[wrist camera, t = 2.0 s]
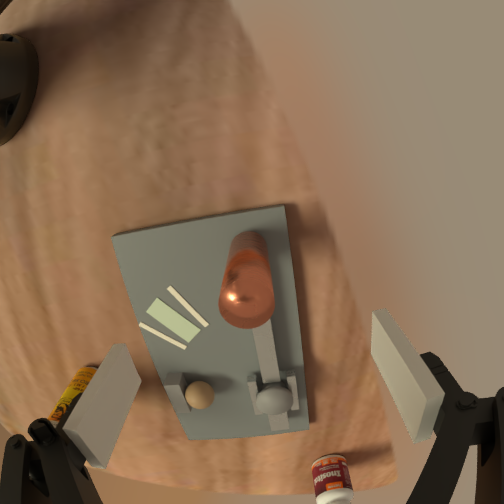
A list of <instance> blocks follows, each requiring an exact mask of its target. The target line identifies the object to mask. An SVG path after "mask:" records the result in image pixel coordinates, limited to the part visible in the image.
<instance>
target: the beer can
mask: <svg viewBox="0 0 504 504" xmlns="http://www.w3.org/2000/svg"><path fill="white" fill-rule="evenodd" d="M97 370H98V368H95V367H83V368H81V369H79V370H78V372H77V373H76V375H75V376H74V378H73V379H72V381H71V382H70V384H69V385H68V387H67V388H66V390H65V392H64V393H63V395H62V396H61V398H60V400H59V401H58V403H57V404H56V406H55V408H54V409H53V411H52V412H51V414H50V416H49V417H48V420H49V421H50V422H51V423H52V425H53V426H54V428H56V426H57V424H58V423H59V421H60V419H61V418H62V416H63V414H64V413H65V412H66V409H67V408H68V407H69V404H70V403H71V401H72V399H73V398H74V397H75V396H76V395H78V394H79V393H80V392H84V391H85V389H86V387H87V386H88V384H89V383H90V381H91V379H92V378H93V376H94V374H95V373H96V371H97Z"/></svg>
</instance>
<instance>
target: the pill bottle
mask: <svg viewBox="0 0 504 504" xmlns="http://www.w3.org/2000/svg"><path fill="white" fill-rule="evenodd" d="M312 474H313V481H314V488H315V495H316V502H317V504H351V502H350V500H351V499H352V498H353V495H354V493H353V489H352V484H351V480H350V475H349V471H348V466H347V462H346V459H345V458H344V457H343V456H341V455H327V456H324V457H321V458H319V459H317V460H316V461H315V462H314V463H313V465H312Z"/></svg>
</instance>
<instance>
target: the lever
mask: <svg viewBox="0 0 504 504" xmlns="http://www.w3.org/2000/svg"><path fill="white" fill-rule="evenodd" d="M218 307H219V311H220V314H221V315H222V317H223V318H224V319H225V321H227V322H228V323H229V324H231V325H233V326H235V327H237V328H242V329H252V331H253V336H254V341H255V346H256V351H257V356H258V360H259V365H260V370H261V375H262V380H263V384H264V383H272V382H279V381H280V374H279V367H278V361H277V355H276V349H275V343H274V336H273V330H272V324H271V316H272V314H273V312H274V308H275V300H274V292H273V285H272V278H271V270H270V263H269V256H268V249H267V244H266V241H265V240H264V238H263V237H262V236H261V235H259V234H258V233H256V232H252V231H245V232H242V233H239V234H238V235H236V236H235V237H234V238H233V240H232V242H231V244H230V249H229V253H228V258H227V263H226V267H225V272H224V276H223V281H222V286H221V291H220V295H219V301H218ZM286 375H287V382H288V389H289V391H290V392H291V393H292V395H293V406H292V407H291V410H298V409H299V402H298V394H297V385H296V377H295V370H288V371H286ZM247 384H248V388H249V392H250V396H251V400H252V404H253V408H254V412H255V415H260V414H263V412H261V411H260V410H259V409H258V408H257V406H256V397H257V395H258V393H259V388H258V383H257V379H256V375H250V376H247ZM268 418H269V423H270V427H271V431H277V430H285V429H289V421H288V414H287V411H286V412H285V413H282V414H278V415H269V414H268Z"/></svg>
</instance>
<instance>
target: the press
mask: <svg viewBox="0 0 504 504" xmlns="http://www.w3.org/2000/svg"><path fill="white" fill-rule="evenodd" d="M245 231H252V232H256V233H258V234H259V235H261V236H262V237H263V238H264V240H265V241H266V244H267V249H268V256H269V263H270V270H271V278H272V285H273V292H274V300H275V308H274V312H273V314H272V316H271V324H272V330H273V336H274V343H275V349H276V355H277V361H278V367H279V374H280V381H279V382H272V383H264V384H263V380H262V375H261V370H260V365H259V360H258V356H257V351H256V346H255V341H254V336H253V331H252V329H242V328H237V327H235V326H233V325H231V324H229V323H228V322H227V321H225V319H224V318H223V317H222V315H221V314H220V311H219V307H218V301H219V295H220V291H221V286H222V281H223V276H224V272H225V267H226V263H227V258H228V253H229V249H230V244H231V242H232V240H233V238H234V237H235V236H236V235H238V234H239V233H242V232H245ZM111 239H112V243H113V247H114V250H115V254H116V257H117V260H118V264H119V267H120V270H121V274H122V277H123V280H124V283H125V286H126V289H127V292H128V295H129V298H130V301H131V304H132V307H133V310H134V313H135V316H136V318H137V321H138V324H139V327H140V329H141V332H142V335H143V337H144V340H145V343H146V345H147V348H148V350H149V353H150V355H151V358H152V360H153V363H154V365H155V367H156V370H157V372H158V375H159V377H160V379H161V382H162V384H163V386H164V388H165V391H166V393H167V395H168V397H169V400H170V402H171V404H172V406H173V408H174V410H175V412H176V415H177V417H178V419H179V421H180V423H181V425H182V427H183V429H184V431H185V433H186V435H187V437H188V439H189V440H209V439H229V438H243V437H255V436H265V435H273V434H281V433H289V432H296V431H302V430H309V417H308V405H307V394H306V383H305V373H304V362H303V353H302V343H301V334H300V324H299V316H298V307H297V298H296V290H295V282H294V274H293V266H292V258H291V251H290V243H289V236H288V228H287V221H286V214H285V207H284V205H283V204H279V205H273V206H266V207H260V208H254V209H247V210H241V211H235V212H229V213H223V214H218V215H212V216H206V217H200V218H195V219H189V220H184V221H178V222H173V223H168V224H162V225H157V226H152V227H147V228H142V229H137V230H132V231H127V232H122V233H117V234H114V235H113V236H112V237H111ZM288 370H295V377H296V385H297V394H298V402H299V409H298V410H291V407H292V406H293V395H292V393H291V392H290V391H289V389H288V382H287V375H286V371H288ZM250 375H256V379H257V383H258V388H259V393H258V395H257V397H256V406H257V408H258V409H259V410H260V411H261V412H263V414H260V415H255V412H254V408H253V404H252V400H251V396H250V392H249V388H248V384H247V376H250ZM286 411H287V414H288V421H289V429H285V430H277V431H271V427H270V423H269V418H268V414H269V415H278V414H282V413H285V412H286Z"/></svg>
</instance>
